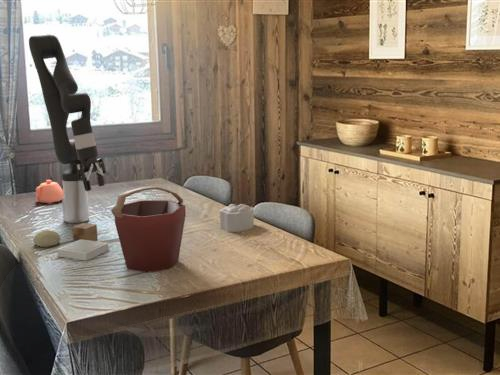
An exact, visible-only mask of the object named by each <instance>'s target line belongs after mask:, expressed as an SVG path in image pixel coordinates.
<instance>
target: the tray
mask: <svg viewBox="0 0 500 375" xmlns="http://www.w3.org/2000/svg"><path fill="white" fill-rule="evenodd" d="M109 250H110V248H109V242H103V241H98V240H97V241H90V240H83V239H80V240H77V241H75V242H74V241H73V242H70V243H69V244H65V245H64V246H62V247H59V248H56V251H57V257H60V258H61V257H62V258H67V259H74V260H79V261H80V260H81V261H89V260H90V259H93V258H94V257H96V256H99V255H102V254H103V253H106V252H107V251H109Z"/></svg>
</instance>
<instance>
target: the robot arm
mask: <svg viewBox="0 0 500 375" xmlns="http://www.w3.org/2000/svg"><path fill="white" fill-rule="evenodd" d="M61 44H62V43H61V41H60V40H59V38H58V36H56V34H54V33H47V34H45V33H44V34H38V35H31V36H30V37H29V38H28V46H29V51H30V54H31V58H32V60H33V63H34V67H35V69H36V72H37V75H38V80H39V83H40V87H41V93H42V97H43V102H44V105H45V108H46V111H47V114H48V115H47V116H48V119H49V124H50V128H51V129H50V130H51V133H52V140H53V146H54V148H53V149H54V153H55V156H56V158H57V161H59V162H60V164H63V165H68V167H67V168H66V169H65V170H64V171H63V172H62V173H61V180H62V182H61V183H62V190H63V193H64V197H63V198H62V200H61V203H62V215H63V221H65V222H66V223H69V224H78V223H79V224H81V223H86V222H87V221H89V220H90V214H89V202H88V201H89V200H88V192H89V191H91V190H92V186H91V183H90V177H91V175H92V174H94V175H96V180H97V183H98V184H97V185H98V186H99V187H104V186H105V179H104V175H105V174H106V173H107V171H106V167H105V164H104V159H103V158H98V157H99V152H98V148H97V144H96V139H95V135H94V133H93V128H92V123H91V107H92V102H91V97H90V96H89V94H88V93H87V92H84V91H82V92H78V89H79V87H78V84H77V81H76V79H75V78H74V76H73V74H72V73H71V70H70V67H69V66H68V65H69V64H68V61H67V60H66V59H67V58H66V56H65V53H64V50H63V46H62V45H61ZM53 58H55V59H56V61H55V62H56V63H55V66H54V69H53V73H52V72H51V71H50V70H49V68H48V66H47V64H46V62H45V60H46V59H47V60H48V59H53ZM76 113H81V115H80V116H79V117H78V118H76V119H73V120H71V125H70V126H71V130H72V134H73V137H74V138H73V139H69V136H68V129H67V127H68V126H67V124H68V120H69V116H70V114H76Z"/></svg>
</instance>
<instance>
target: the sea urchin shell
mask: <svg viewBox="0 0 500 375" xmlns="http://www.w3.org/2000/svg"><path fill="white" fill-rule="evenodd" d="M32 239H33V244H34V245H36V246H37V247H39V246H40V247H39V248H49V247H55V246H56V245H58V244H59V243H60V241H61V237H60V235H59V233H58V232H57V231H56V230H49V229H45V230H42V231H39V232H38V233H36V234H35V235H34V236H33V238H32Z"/></svg>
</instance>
